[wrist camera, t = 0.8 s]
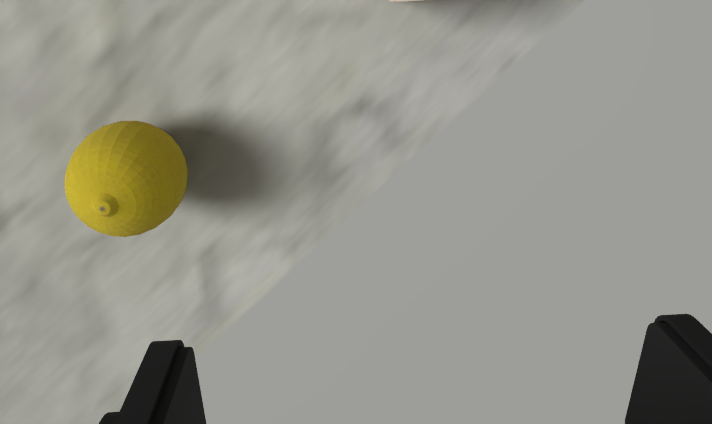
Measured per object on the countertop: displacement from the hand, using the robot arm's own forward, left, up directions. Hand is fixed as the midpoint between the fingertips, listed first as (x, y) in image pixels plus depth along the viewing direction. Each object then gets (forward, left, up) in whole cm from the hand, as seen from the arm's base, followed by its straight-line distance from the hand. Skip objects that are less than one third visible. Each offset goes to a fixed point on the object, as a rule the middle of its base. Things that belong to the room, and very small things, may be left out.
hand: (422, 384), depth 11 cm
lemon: (+2, -12, -23) cm, 25 cm away
